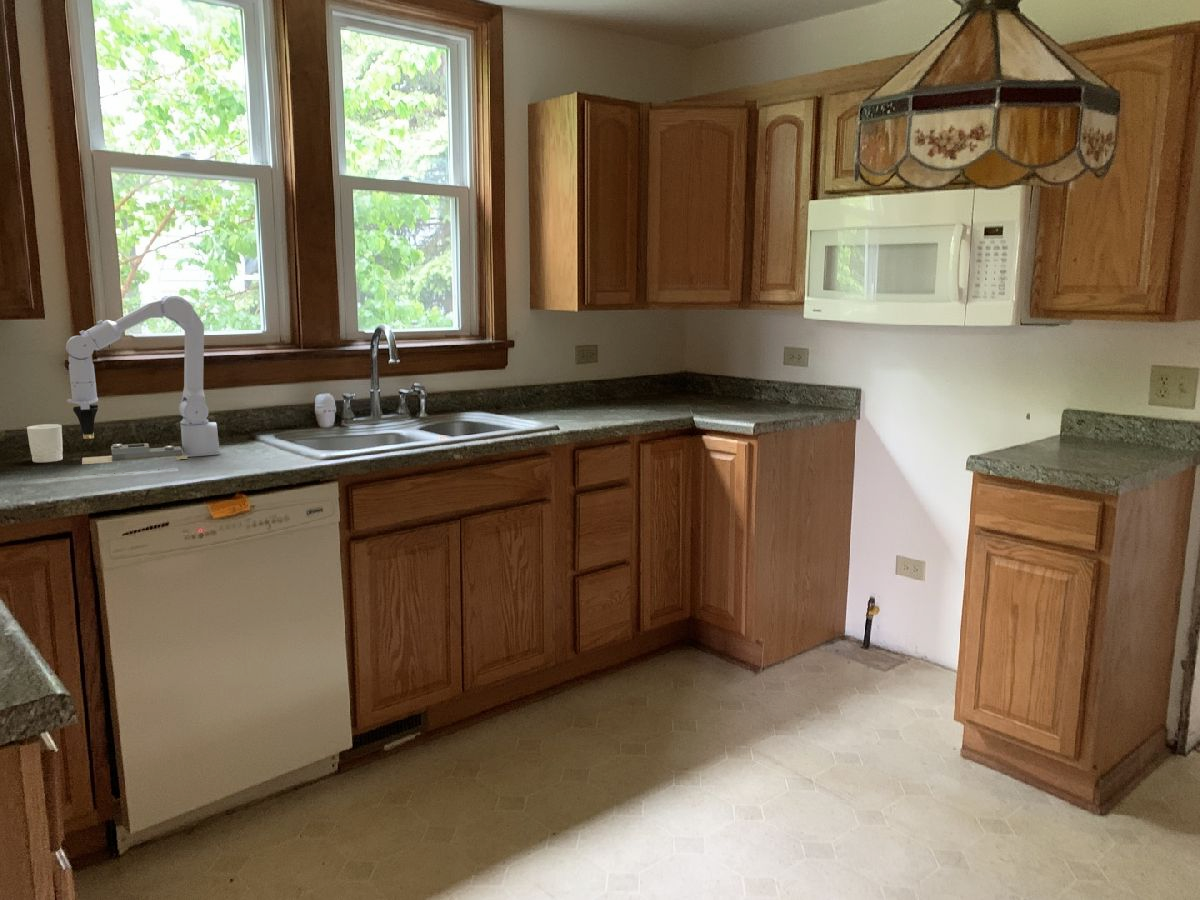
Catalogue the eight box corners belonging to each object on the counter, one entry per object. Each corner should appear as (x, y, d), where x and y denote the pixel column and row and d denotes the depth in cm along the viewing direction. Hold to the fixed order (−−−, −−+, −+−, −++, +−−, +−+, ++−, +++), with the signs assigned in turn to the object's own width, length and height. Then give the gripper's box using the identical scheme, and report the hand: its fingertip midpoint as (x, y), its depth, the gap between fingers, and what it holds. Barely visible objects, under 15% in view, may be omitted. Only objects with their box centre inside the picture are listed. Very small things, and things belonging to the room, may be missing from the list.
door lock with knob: (184, 453, 255) (183, 437, 254) (187, 459, 247) (186, 442, 246) (82, 461, 243) (81, 444, 243) (82, 468, 235) (80, 450, 234)
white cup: (27, 463, 241) (23, 426, 239) (60, 459, 246) (56, 423, 244) (35, 467, 235) (31, 429, 233) (69, 463, 240) (65, 426, 239)
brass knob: (95, 436, 241) (93, 412, 240) (95, 438, 238) (93, 413, 237) (81, 437, 239) (79, 413, 238) (81, 439, 237) (79, 414, 236)
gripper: (66, 380, 241) (71, 430, 243) (64, 385, 228) (70, 438, 230) (96, 379, 244) (101, 428, 246) (96, 384, 231) (101, 436, 234)
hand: (88, 433), depth 239 cm, fingers closed on brass knob, 3 cm apart
